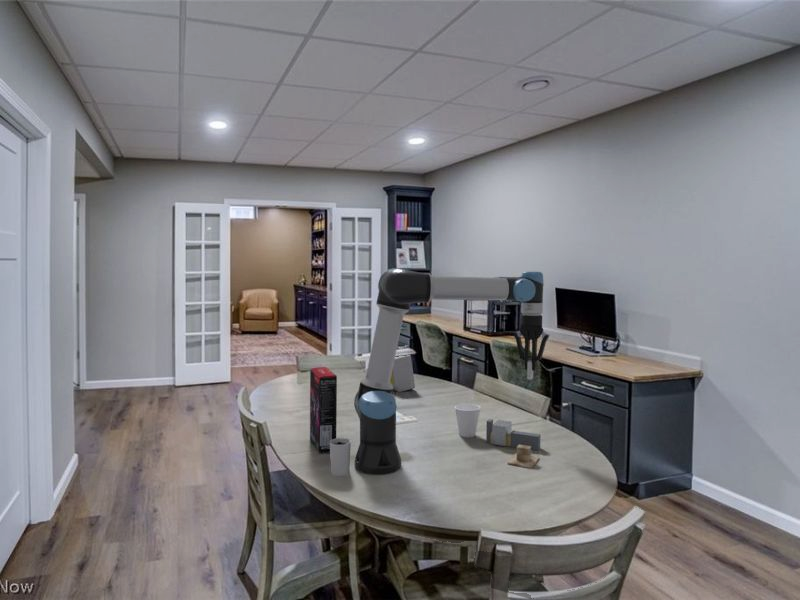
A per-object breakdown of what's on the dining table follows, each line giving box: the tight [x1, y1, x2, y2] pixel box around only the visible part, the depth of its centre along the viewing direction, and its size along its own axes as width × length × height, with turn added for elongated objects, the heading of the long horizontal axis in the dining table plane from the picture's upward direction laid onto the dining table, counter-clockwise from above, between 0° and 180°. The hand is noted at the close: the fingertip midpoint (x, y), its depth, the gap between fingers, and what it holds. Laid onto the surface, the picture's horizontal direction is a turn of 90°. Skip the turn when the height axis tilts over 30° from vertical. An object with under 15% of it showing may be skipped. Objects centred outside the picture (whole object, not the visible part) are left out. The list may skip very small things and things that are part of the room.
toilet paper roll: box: [329, 437, 352, 477], centre depth 175 cm, size 7×7×10 cm
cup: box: [454, 403, 482, 439], centre depth 211 cm, size 10×10×11 cm
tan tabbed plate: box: [507, 444, 540, 469], centre depth 185 cm, size 8×10×5 cm
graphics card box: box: [309, 366, 338, 454], centre depth 199 cm, size 17×7×27 cm, turn 21°
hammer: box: [485, 418, 541, 452], centre depth 200 cm, size 19×3×8 cm, turn 63°
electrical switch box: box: [390, 354, 416, 393], centre depth 285 cm, size 14×15×20 cm
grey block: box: [491, 419, 513, 447], centre depth 202 cm, size 5×7×7 cm
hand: (530, 378), depth 202 cm, fingers closed
